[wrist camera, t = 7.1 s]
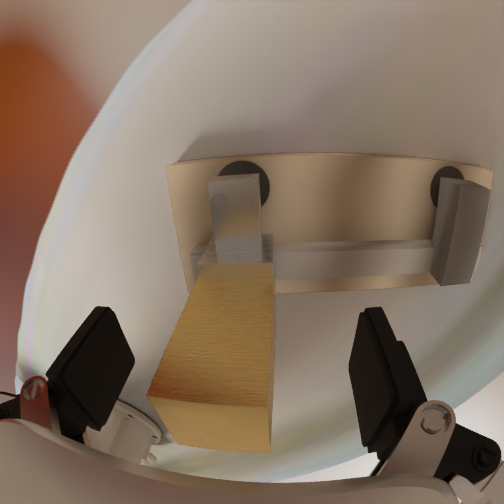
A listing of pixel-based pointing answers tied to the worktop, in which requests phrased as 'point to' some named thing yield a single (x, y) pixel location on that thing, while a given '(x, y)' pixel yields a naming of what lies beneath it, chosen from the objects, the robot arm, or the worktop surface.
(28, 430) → the robot arm
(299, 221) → the board
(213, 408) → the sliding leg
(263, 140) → the worktop surface
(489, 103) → the worktop surface
